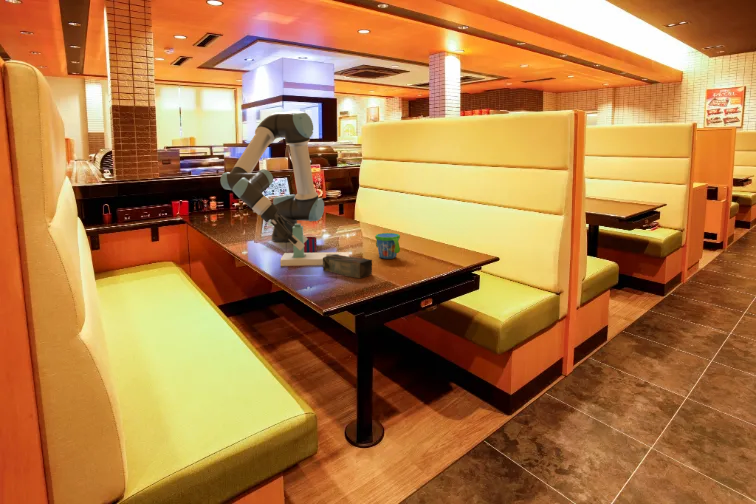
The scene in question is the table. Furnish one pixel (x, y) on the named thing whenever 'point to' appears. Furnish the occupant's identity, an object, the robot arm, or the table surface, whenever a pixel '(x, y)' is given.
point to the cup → (310, 245)
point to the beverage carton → (348, 266)
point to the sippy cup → (388, 245)
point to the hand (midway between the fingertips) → (304, 244)
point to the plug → (299, 235)
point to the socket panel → (307, 258)
